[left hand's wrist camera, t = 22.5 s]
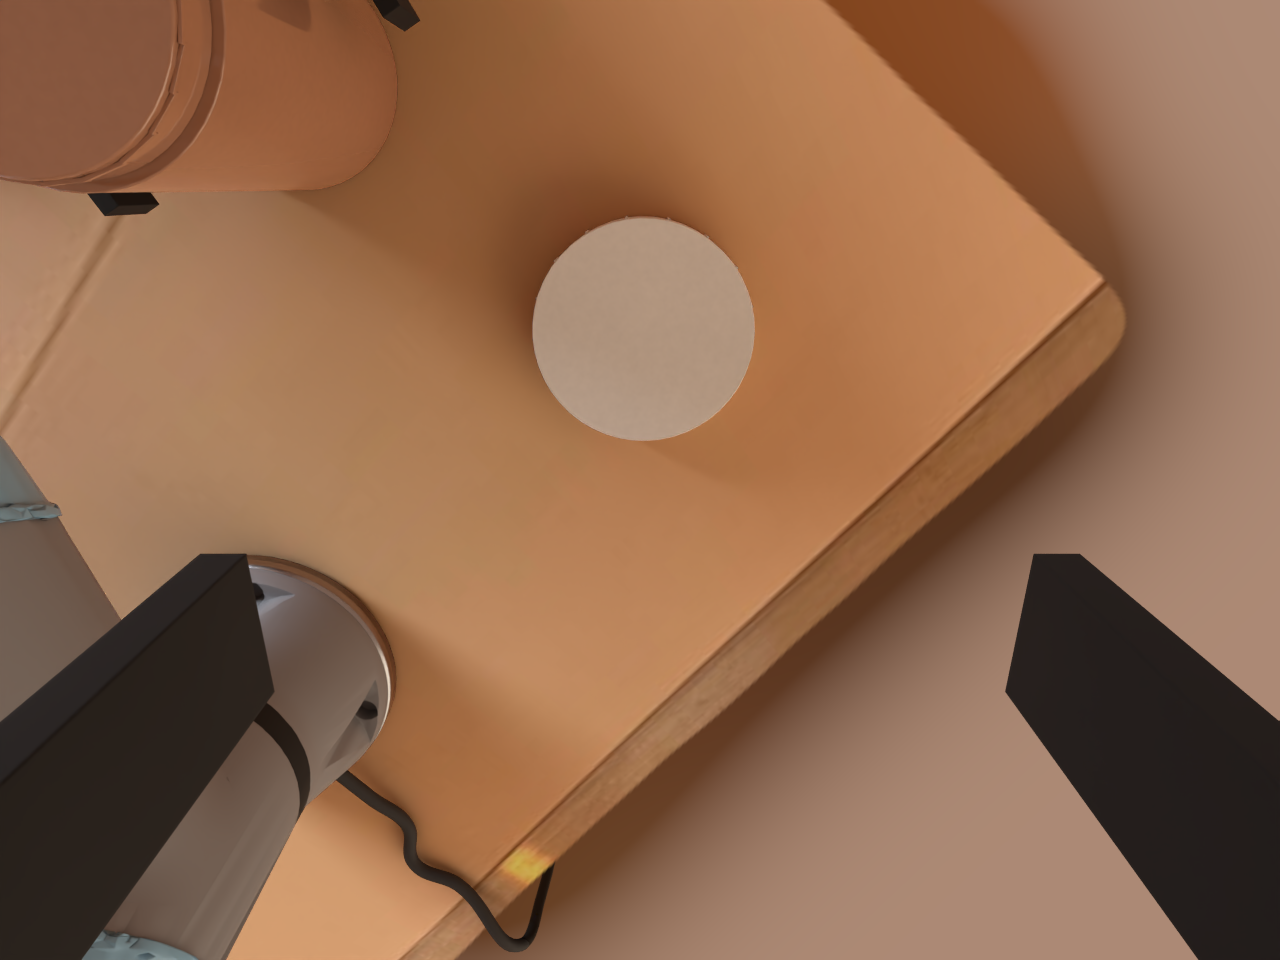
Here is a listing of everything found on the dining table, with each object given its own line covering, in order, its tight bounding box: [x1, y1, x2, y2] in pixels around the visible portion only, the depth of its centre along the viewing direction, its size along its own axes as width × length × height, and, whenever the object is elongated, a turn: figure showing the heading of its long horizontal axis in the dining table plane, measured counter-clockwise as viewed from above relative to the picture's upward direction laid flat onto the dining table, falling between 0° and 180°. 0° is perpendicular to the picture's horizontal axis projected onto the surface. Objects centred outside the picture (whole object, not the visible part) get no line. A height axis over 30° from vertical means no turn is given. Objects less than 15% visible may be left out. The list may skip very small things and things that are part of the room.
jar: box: [0, 0, 397, 193], centre depth 27 cm, size 10×10×18 cm
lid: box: [532, 216, 755, 441], centre depth 38 cm, size 11×11×2 cm
